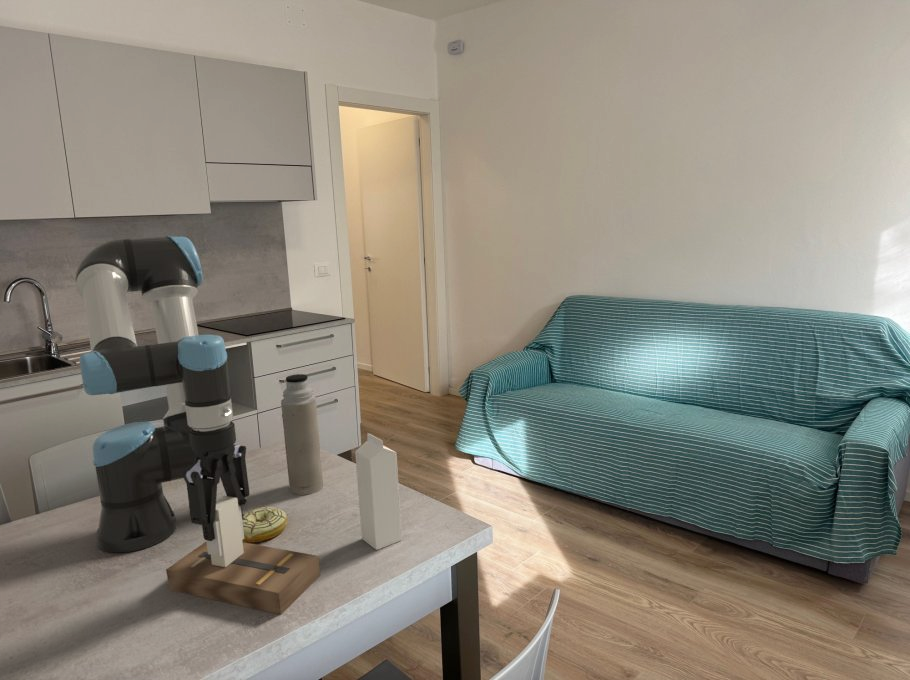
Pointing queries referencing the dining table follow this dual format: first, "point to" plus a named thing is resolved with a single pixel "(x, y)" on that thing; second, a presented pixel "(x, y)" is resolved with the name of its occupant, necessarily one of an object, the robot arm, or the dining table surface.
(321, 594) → the dining table surface
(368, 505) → the milk
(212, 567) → the brown flat block
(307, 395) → the thermos bottle
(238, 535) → the fader tab
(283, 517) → the decorated donut
